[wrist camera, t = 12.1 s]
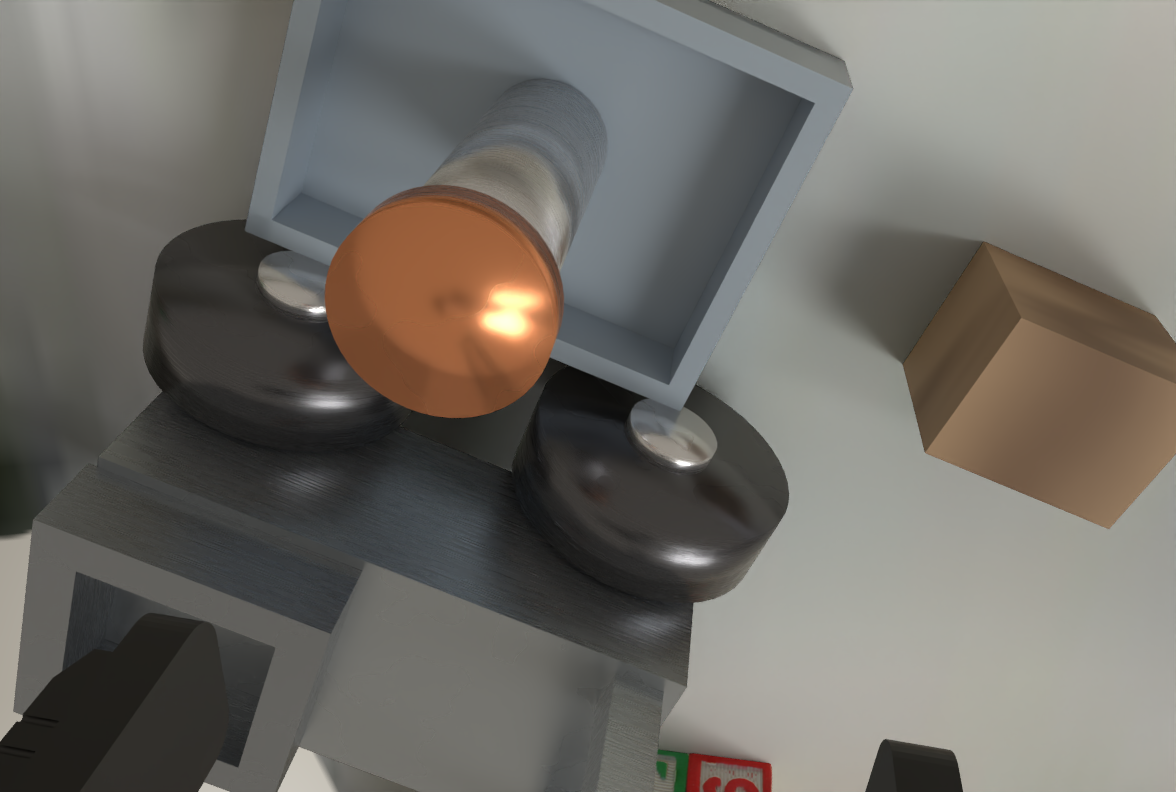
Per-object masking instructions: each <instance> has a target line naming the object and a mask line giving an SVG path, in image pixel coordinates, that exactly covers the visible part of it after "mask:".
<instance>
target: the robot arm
mask: <svg viewBox="0 0 1176 792" xmlns="http://www.w3.org/2000/svg"><path fill="white" fill-rule="evenodd" d="M228 721H229V705H228V699H227V693H226V687H225V681H224V675H223V669H222V663H221V658H220V652H219V646H218V640H217V634H216V630H215V628H214V626H213V625H212V624H211V623H209V622H205V621H199V620H193V619H187V618H181V617H175V616H169V615H163V614H157V613H148V614H145V615H144V616H142V617H141V618H140V619H139V620H138V621H137V622H136V623H135V624H134V625H133V627H132V628H131V629H130V631H129V632H128V633H127V634H126V636H125V637H124V638H123V640H122V641H121V642H120V643H119V645H118V646H117V647H116V649H115V650H114V651H113V652H111V651H105V650H99V649H94V650H93V651H91V652H90V653H88V654H87V655H85V656H84V657H82V658H81V659H79V660H78V661H76V662H75V663H74V664H72V665H71V666H69V667H68V668H66V669H65V670H63V671H62V672H60V673H59V674H58V675H56V676H55V677H53V678H52V679H51V681H50V682H49V683H48V684H47V685H46V687H45V688H44V689H43V690H42V691H41V693H40V694H39V695H38V696H37V698H36V699H35V700H34V701H33V702H32V704H31V705H30V706H29V707H28V708H27V710H26V711H25V712H24V713H23V718H22V720H21V721H20V722H16V723H15V724H14V725H13V727H12V728H11V729H10V730H9V732H8V733H7V734H6V735H5V736H4V738H3V739H2V740H1V741H0V792H198V791H199V789H200V788H201V786H202V784H203V782H204V781H205V779H206V777H207V776H208V774H209V772H210V770H211V769H212V767H213V765H214V764H215V762H216V760H217V758H218V756H219V754H220V751H221V749H222V746H223V743H224V740H225V737H226V732H227V728H228ZM865 792H963V789H962V784H961V778H960V773H959V768H958V763H957V760H956V757H955V755H954V753H953V752H952V751H951V750H947V749H941V748H935V747H929V746H923V745H917V744H911V743H905V742H900V741H894V740H888V739H885V740H883V741H882V743H881V745H880V747H879V750H878V753H877V756H876V759H875V763H874V766H873V769H872V772H871V775H870V779H869V782H868V785H867V788H866V791H865Z"/></svg>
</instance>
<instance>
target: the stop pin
mask: <svg viewBox="0 0 1176 792" xmlns="http://www.w3.org/2000/svg"><path fill="white" fill-rule="evenodd" d="M607 152H608V138H607V132H606V128H605V125H604V122H603V119H602V117H601V115H600V113H599V111H598V110H597V108H596V107H595V105H594V104H593V103H592V102H591V101H590V99H589V98H588V97H586V96H585V95H584V94H583V93H582V92H580V91H579V90H578V89H576V88H575V87H573V86H571V85H569V84H567V83H564V82H561V81H558V80H553V79H544V78H540V79H531V80H526V81H523V82H520V83H517V84H515V85H514V86H512V87H510V88H509V89H507V90H506V91H504V92H503V93H502V94H501V95H500V96H499V97H498V98H497V100H496V101H495V102H494V103H493V104H492V105H491V107H490V108H489V109H488V110H487V111H486V112H485V114H484V115H483V116H482V117H481V118H480V120H479V121H478V122H477V123H476V124H475V125H474V127H473V128H472V129H471V130H470V131H469V132H468V134H467V135H466V136H465V137H464V138H463V140H462V141H461V142H460V143H459V144H458V145H457V147H456V148H455V149H454V150H453V151H452V152H451V154H450V155H449V156H448V157H447V158H446V160H445V161H444V162H443V163H442V164H441V165H440V167H439V168H438V169H437V170H436V171H435V173H434V174H433V175H432V176H431V177H430V178H429V180H428V181H427V182H426V183H425V184H424V185H423V186H422V187H416V188H412V189H409V190H405V191H402V192H400V193H398V194H395V195H393V196H391V197H389V198H387V199H386V200H385V201H383V202H382V203H380V204H379V205H377V206H376V207H375V208H374V209H373V210H372V211H371V212H370V213H369V214H368V215H367V216H366V217H365V218H364V219H363V220H362V221H361V222H360V223H359V224H358V225H357V226H356V228H355V229H354V230H353V231H352V232H351V233H350V234H349V235H348V236H347V237H346V239H345V240H344V241H343V243H342V244H341V245H340V246H339V248H338V250H337V252H336V253H335V255H334V257H333V259H332V261H331V264H330V267H329V270H328V273H327V279H326V284H325V307H326V315H327V319H328V323H329V327H330V329H331V332H332V335H333V337H334V340H335V342H336V344H337V346H338V348H339V349H340V351H341V353H342V354H343V356H344V357H345V359H346V360H347V362H348V363H349V365H350V366H351V367H352V368H353V369H354V370H355V372H356V373H357V374H358V375H359V376H360V377H361V378H362V379H363V380H364V381H365V382H366V383H367V384H368V385H370V386H371V387H372V388H374V389H375V390H376V391H378V392H379V393H380V394H382V395H383V396H385V397H387V398H388V399H390V400H391V401H393V402H395V403H397V404H399V405H401V406H404V407H406V408H408V409H411V410H414V411H417V412H420V413H423V414H428V415H432V416H438V417H446V418H467V417H476V416H480V415H485V414H489V413H492V412H494V411H497V410H500V409H502V408H504V407H506V406H508V405H510V404H511V403H513V402H515V401H516V400H517V399H519V398H520V397H522V396H523V395H524V394H525V393H526V392H527V391H528V390H529V389H530V388H531V387H532V386H533V385H534V384H535V382H536V381H537V380H538V378H539V377H540V376H541V374H542V372H543V370H544V368H545V367H546V365H547V362H548V360H549V357H550V354H551V352H552V349H553V346H554V344H555V341H556V338H557V336H558V333H559V330H560V327H561V323H562V318H563V313H564V292H563V284H562V280H561V276H560V271H561V268H562V266H563V263H564V261H565V259H566V256H567V254H568V251H569V249H570V247H571V244H572V242H573V239H574V237H575V235H576V232H577V230H578V227H579V225H580V223H581V220H582V218H583V216H584V213H585V211H586V208H587V206H588V204H589V201H590V199H591V196H592V194H593V192H594V189H595V187H596V184H597V182H598V180H599V177H600V175H601V172H602V170H603V168H604V165H605V162H606V157H607Z"/></svg>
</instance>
